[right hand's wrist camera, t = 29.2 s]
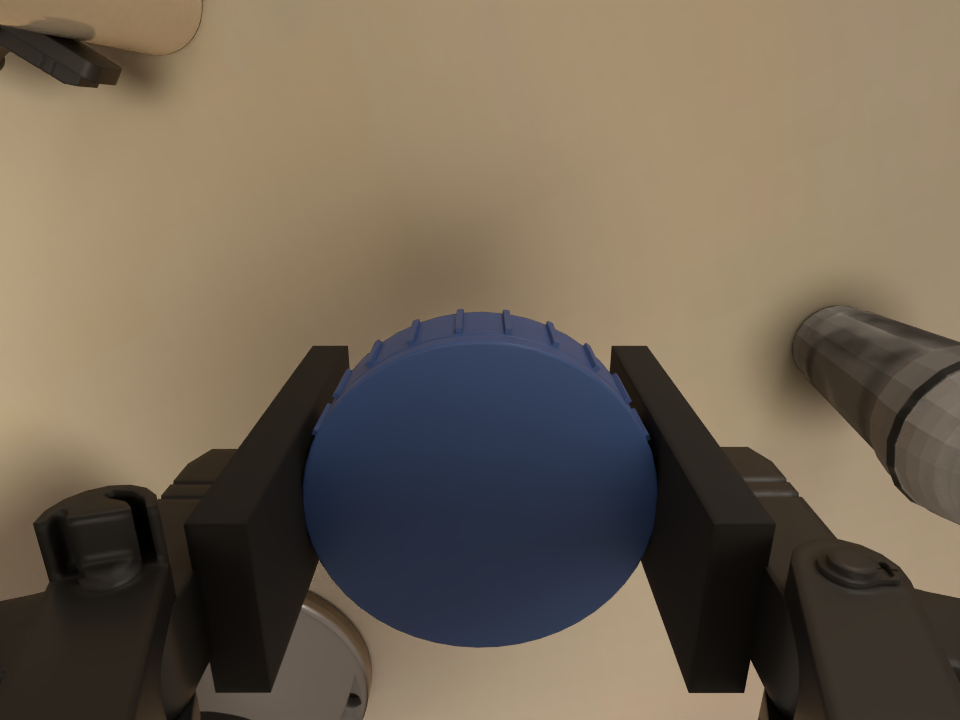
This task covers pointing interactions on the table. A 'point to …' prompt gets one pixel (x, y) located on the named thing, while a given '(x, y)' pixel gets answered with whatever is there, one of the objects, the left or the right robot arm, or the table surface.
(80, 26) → the jar
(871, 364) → the beverage cup
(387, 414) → the lid
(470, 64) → the table surface
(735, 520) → the right robot arm
